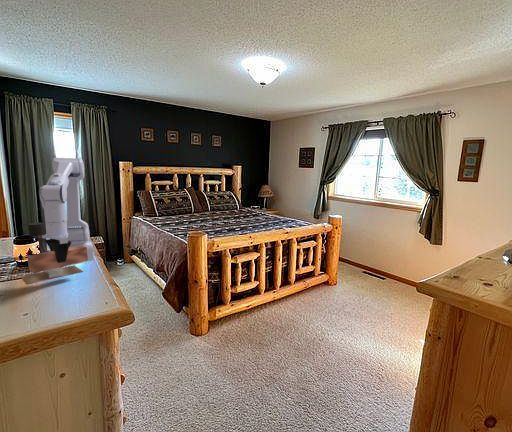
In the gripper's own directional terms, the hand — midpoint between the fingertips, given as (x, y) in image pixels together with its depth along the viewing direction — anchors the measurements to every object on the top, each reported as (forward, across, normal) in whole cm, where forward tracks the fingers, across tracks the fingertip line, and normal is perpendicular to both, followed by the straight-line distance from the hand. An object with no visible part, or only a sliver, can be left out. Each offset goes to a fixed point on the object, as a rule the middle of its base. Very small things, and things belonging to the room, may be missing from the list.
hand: (59, 260), depth 94 cm
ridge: (+8, -11, 0) cm, 13 cm away
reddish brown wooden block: (+2, 0, 0) cm, 2 cm away
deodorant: (+9, -46, +3) cm, 47 cm away
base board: (+9, -11, 0) cm, 14 cm away
